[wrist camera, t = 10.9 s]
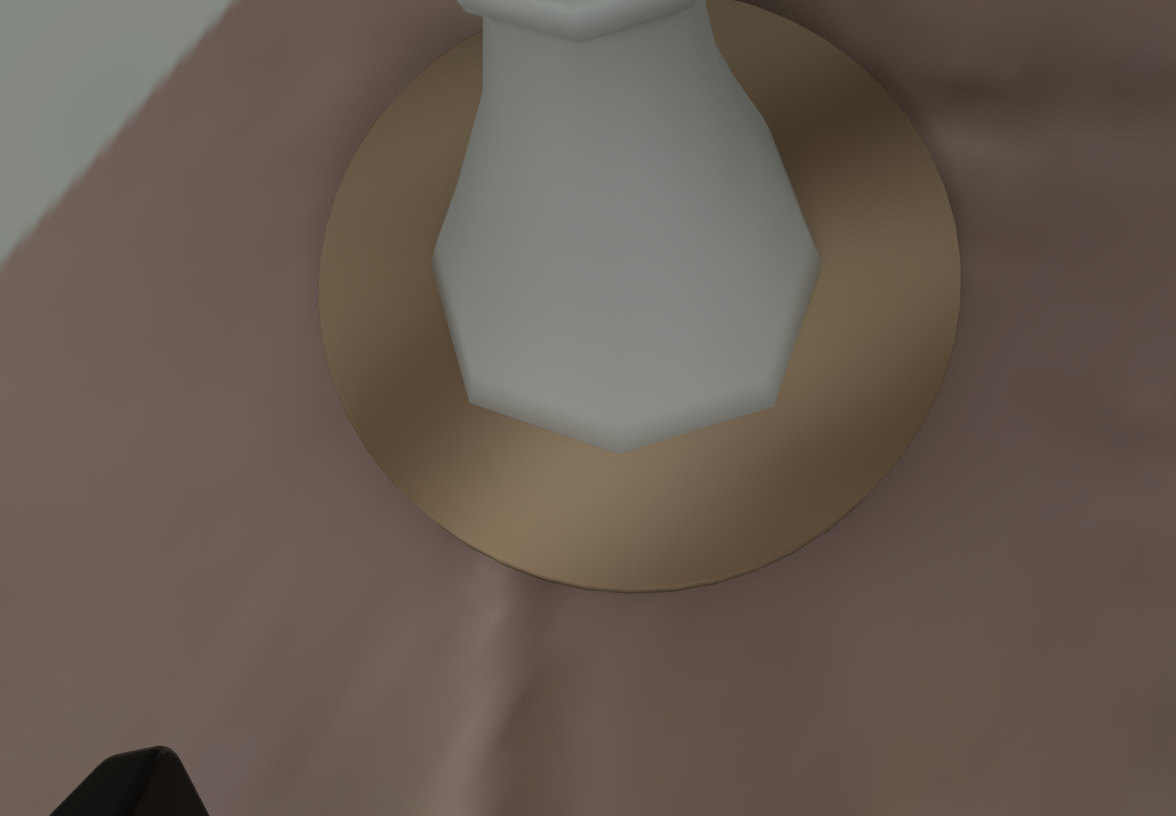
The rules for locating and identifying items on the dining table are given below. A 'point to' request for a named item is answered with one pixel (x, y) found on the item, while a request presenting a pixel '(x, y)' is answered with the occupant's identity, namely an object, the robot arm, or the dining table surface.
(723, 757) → the dining table surface
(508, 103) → the flask
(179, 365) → the dining table surface
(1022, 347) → the dining table surface
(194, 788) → the robot arm
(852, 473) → the brass disc
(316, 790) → the dining table surface
